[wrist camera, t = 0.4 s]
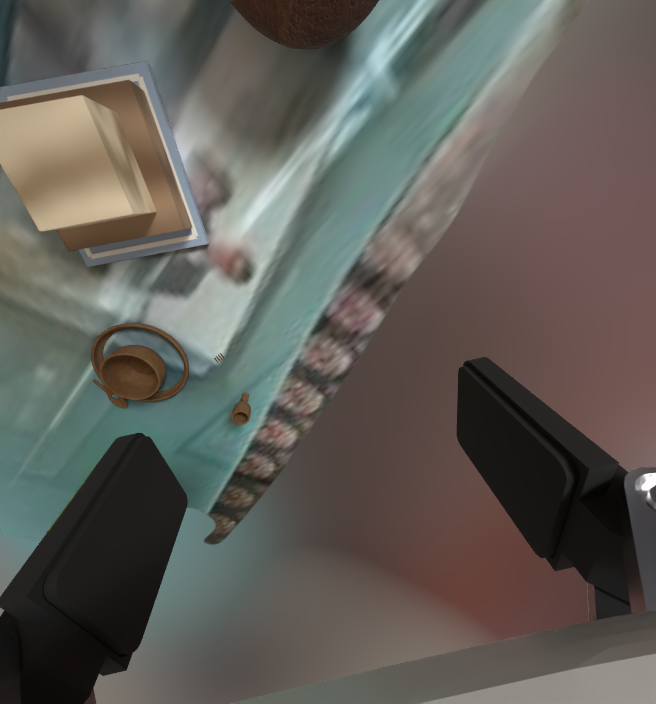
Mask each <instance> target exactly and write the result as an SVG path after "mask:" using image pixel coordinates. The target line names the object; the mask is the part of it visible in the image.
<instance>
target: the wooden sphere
mask: <svg viewBox="0 0 656 704" xmlns="http://www.w3.org/2000/svg"><path fill="white" fill-rule="evenodd" d="M378 1H379V0H230V2H231V3H232V4H233V5H234V7H235V8H236V9H237V10H238V12H239V13H240V14H241V15H242V16H243V17H244V18H245V19H246V20H247V21H248V22H249V23H250V24H251V25H252V26H253V27H254V28H255V29H257V30H258V31H259V32H261V33H262V34H263V35H265V36H266V37H268V38H269V39H271V40H273V41H275V42H277V43H279V44H282V45H285V46H288V47H292V48H297V49H316V48H321V47H325V46H328V45H331V44H333V43H335V42H337V41H339V40H341V39H343V38H344V37H346V36H347V35H348V34H350V33H351V32H352V31H354V30H355V29H356V28H357V27H358V26H359V25H360V24H361V23H362V22H363V21H364V20H365V19H366V17H367V16H368V15H369V14H370V13H371V11H372V10H373V8H374V7H375V6H376V4H377V3H378Z"/></svg>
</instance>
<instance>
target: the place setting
mask: <svg viewBox="0 0 656 704" xmlns="http://www.w3.org/2000/svg"><path fill="white" fill-rule="evenodd" d="M132 327H139V328H144V329H148V330H151V331H153V332H156V333H158V334H160V335H162V336H163V337H165V338H166V339H168V340H169V341H170V342H171V343H172V344H173V345H174V346H175V347H176V348H177V349H178V351H179V352H180V354H181V355H182V358H183V360H184V373H183V376H182V378H181V379H180V381H179V382H178V383H177V384H176V385H175V386H174V387H172V388H170V389H168V390H166V391H162V392H157V390H158V389H159V387H160V386H161V384H162V383H163V381H164V379H165V376H166V366H165V363H164V361H163V359H162V358H161V357H160V356H159V355H158V354H157V353H156V352H155V351H153V350H151V349H150V348H147V347H144V346H140V345H129V346H124V347H121V348H119V349H117V350H116V351H114V352H113V353H112V354H111V355H109V356H108V357H107V358H106V359H105V360H104V358H103V349H104V345H105V343H106V341H107V340H108V338H109V337H110V336H111V335H112V334H114V333H116V332H117V331H119V330H122V329H125V328H132ZM220 355H221V356H222V357H223V355H222V354H221V353H220ZM218 356H219V355H218ZM216 357H217V356H216ZM219 357H220V356H219ZM220 358H221V357H220ZM223 358H224V357H223ZM214 359H215V360H216V358H214ZM217 359H218V360H219V358H218V357H217ZM221 359H222V358H221ZM91 361H92V365H93V367H94V370H95V372H96V373H97V375H98V376H99V378H100V379H101V381H102V382H103V384H104V385H105V387H106V388H105V387H104V386H103V385H101V384H100V383H99V382H98V381H96V380H94V381H93V382H94V383H95V384H96V385H98V386H99V387H100V388H101V389H102V390H104V391H105V392H106V393H107V395H108V397H109V399H110V400H111V402H112V403H113V404H115V405H116V406H119V407H121V408H127V407H128V403H127V401H126V399H129V400H138V401H147V402H152V401H160V400H164V399H167V398H169V397H172V396H173V395H175V394H176V393H178V392H179V391H180V390H181V389H182V387H183V386H184V384H185V382H186V380H187V378H188V374H189V363H188V359H187V356H186V354H185V352H184V350H183V348H182V347H181V346H180V344H179V343H178V342H177V341H176V340H175V339H174V338H173V337H171V336H170V335H169V334H167V333H166V332H164V331H162V330H160V329H158V328H156V327H153V326H150V325H146V324H140V323H125V324H120V325H116V326H113V327H111V328H109V329H107V330H106V331H104V332H103V333H101V334H100V335H99V336H98V337H97V339H96V340H95V342H94V344H93V346H92V350H91ZM216 361H217V360H216ZM219 361H220V360H219ZM217 362H218V361H217ZM156 392H157V393H156ZM113 394H115V395H117V396H118V397H119V398H118V399H114V398H113V397H112V395H113ZM248 397H249V394H248V393H246V392H245V393H243V394H242V398H241V402H238V403H237V404H236V405H235V407H234V409H233V412H232V417H231V418H232V421H233V422H234V423H236V424H239V425H243V424H246V423H247V422H248V421H249V419H250V413H251V407H250V405H249V404H248V403H247V402H248Z"/></svg>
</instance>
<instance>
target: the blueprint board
mask: <svg viewBox="0 0 656 704" xmlns="http://www.w3.org/2000/svg"><path fill="white" fill-rule="evenodd" d="M124 80H130V81H132V82H133V83H134V84H136V85H137V86H138V87H140V88H141V89H142V90H144V92H145V95H146V97H147V100H148V103H149V106H150V109H151V111H152V114H153V117H154V120H155V123H156V126H157V128H158V131H159V134H160V137H161V140H162V143H163V145H164V148H165V151H166V154H167V157H168V159H169V162H170V165H171V168H172V171H173V174H174V176H175V179H176V182H177V185H178V188H179V191H180V193H181V196H182V199H183V202H184V205H185V207H186V210H187V213H188V216H189V219H190V222H191V224H192V228H188V229H184V230H179V231H174V232H169V233H163V234H158V235H153V236H148V237H142V238H137V239H132V240H127V241H121V242H116V243H111V244H106V245H100V246H95V247H90V248H85V249H80V250H78V251H79V253H80V254H81V256H82V258H83V260H84V262H85V264H86V266H87V267H91V266H96V265H101V264H106V263H112V262H117V261H122V260H127V259H132V258H138V257H143V256H148V255H153V254H158V253H164V252H169V251H174V250H179V249H184V248H190V247H195V246H200V245H205V244H209V240H208V237H207V234H206V231H205V228H204V225H203V222H202V219H201V216H200V213H199V210H198V208H197V205H196V202H195V199H194V196H193V193H192V190H191V187H190V184H189V181H188V178H187V175H186V172H185V169H184V166H183V163H182V160H181V157H180V154H179V151H178V148H177V145H176V142H175V139H174V136H173V133H172V130H171V127H170V124H169V121H168V119H167V116H166V113H165V110H164V107H163V104H162V101H161V98H160V95H159V92H158V89H157V86H156V83H155V80H154V77H153V74H152V71H151V68H150V65H149V64H148V63H147V62H146V61H144V62H138V63H133V64H127V65H121V66H116V67H110V68H104V69H99V70H93V71H87V72H82V73H76V74H71V75H65V76H59V77H54V78H48V79H42V80H37V81H31V82H25V83H20V84H14V85H9V86H3V87H0V103H1V102H7V101H12V100H18V99H24V98H29V97H35V96H40V95H46V94H52V93H57V92H63V91H68V90H74V89H80V88H85V87H91V86H96V85H102V84H108V83H113V82H119V81H124Z"/></svg>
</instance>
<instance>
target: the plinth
mask: <svg viewBox="0 0 656 704" xmlns="http://www.w3.org/2000/svg"><path fill="white" fill-rule="evenodd" d="M0 164H1V166H2V168H3V169H4V171H5V173H6V174H7V176H8V178H9V180H10V181H11V183H12V185H13V186H14V188H15V190H16V192H17V193H18V195H19V197H20V198H21V200H22V202H23V204H24V205H25V207H26V209H27V210H28V212H29V214H30V216H31V217H32V219H33V221H34V222H35V224H36V226H37V228H38V229H39V231H40V232H42V231H50V230H57V231H58V233H59V235H60V237H61V238H62V240H63V242H64V244H65V246H66V247H67V249H68V251H74V250H80V249H85V248H90V247H95V246H100V245H106V244H111V243H116V242H121V241H127V240H132V239H137V238H142V237H148V236H153V235H158V234H163V233H169V232H174V231H179V230H184V229H188V228H192V224H191V222H190V219H189V216H188V213H187V210H186V207H185V205H184V202H183V199H182V196H181V193H180V191H179V188H178V185H177V182H176V179H175V176H174V174H173V171H172V168H171V165H170V162H169V159H168V157H167V154H166V151H165V148H164V145H163V143H162V140H161V137H160V134H159V131H158V128H157V126H156V123H155V120H154V117H153V114H152V111H151V109H150V106H149V103H148V100H147V97H146V95H145V92H144V90H142V89H141V88H140V87H138V86H137V85H136V84H134V83H133V82H132V81H130V80H124V81H119V82H113V83H108V84H102V85H96V86H91V87H85V88H80V89H74V90H68V91H63V92H57V93H52V94H46V95H40V96H35V97H29V98H24V99H18V100H12V101H7V102H1V103H0Z"/></svg>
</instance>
